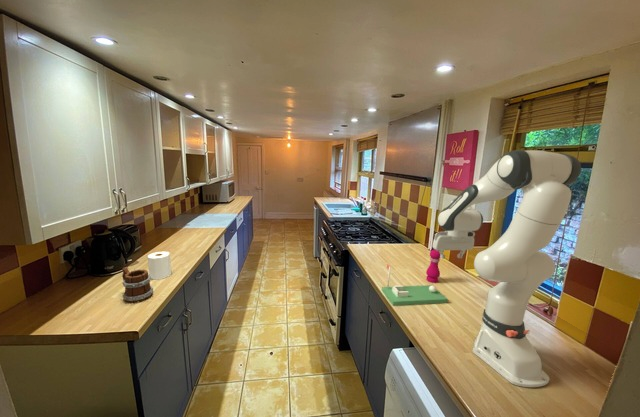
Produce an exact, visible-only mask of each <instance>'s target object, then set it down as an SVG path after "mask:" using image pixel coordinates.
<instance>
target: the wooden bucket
mask: <svg viewBox="0 0 640 417" xmlns="http://www.w3.org/2000/svg"><path fill="white" fill-rule="evenodd" d="M121 270H122V286H123V287H124V292H123V294H122V297H123V300H124V301H125V302H126V303H133V304H134V303H139V302H140V303H141V302H143V301H145V300H147V299H150V297H152V295H153V293H154V287H152V286H151V280H152V279H151V278H150V276H149V270H147V269H134V270H131V271H130V270H129V269H128V268H127V267H122V268H121Z"/></svg>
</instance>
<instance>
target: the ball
mask: <svg viewBox="0 0 640 417" xmlns="http://www.w3.org/2000/svg"><path fill="white" fill-rule="evenodd" d="M436 289H437V288H436V286H435V285H432V286H430V287H429V291H430V292H435V291H436Z"/></svg>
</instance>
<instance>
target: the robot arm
mask: <svg viewBox="0 0 640 417" xmlns="http://www.w3.org/2000/svg"><path fill="white" fill-rule="evenodd" d="M581 170H582V165H581V162H580V160H579V159H578V158H577V157H575V156H573V155H571V154H567V153H561V152H560V153H557V152H551V151H545V150H537V149H535V150H534V149H533V150H524V149H515V150H510V151H507V152H505V153H504V154H502V156H501V157H500V158H499V159H498V160H497V161H496V162H495V163H494V164H493V165H492V166H491V167H490V169H489V170H488V171H487V172H486V174H484V175H483V176H482V177H480V179H478V180H477V181H476V182H474V183H473V184H471V185H469V186H467V187H466V188H464V190H463V191H462V192H461V193H459V195H458V196H456V197H455V198H454V199H452V200H451V201H450V203H449V205H447V207H445V208H443V209H441V211H440V212H439V213H438V215H437V224H438V225H439V227H440V228H441V229H442V230H443V231H437V232H436V233H435V234H434V238H433V241H432V249H433V250H437V251H439V253H440V258H439V259H446V255H445V254H444V252H445V251H460V252H459V253H457V255H456V257H457V258H458V259H462V258H463V255H464V254H465V253H466V252H467V251H472V250H473V249H474V246H475V235H476V233H475V231H479V230H480V229H481V228H482V226H483V224H484V216H483V214H482V213H481V211H479V210H476V209H475V208H474V207H472V206H474V205H476V204H481V203H487V202H488V203H489V202H493V201H494V202H497V201H501V200H503V199H505V198H507V197H509V196H510V195H511V194H513V193H514V192H515V191H516V190H517V191H518V190H520V189H521V190H522V192H523V193H522V194H523V196H522V199H521V202H520V203H519V205H518V207H517V209H516V211H515V214H514V216H513V218H512V220H511V221H510V224H509V226H508V228H507V229H506V230H505V232H504V233H503V234H502V235H501V236H500V237H499V238H498V239H497V240H496V241H495V242H494V243H493V244H492V245H490V246H488V247H487V248H485V249H484V250H482V251H479V252H478V253H477V254H476V255H475V258H474V260H473V267H474V270H475V272H476V274H477V275H478V276H479V277H480V278H481V279H482V280H484V281H490V282H495V283H497V284H496V285H495V286H493V287H491V289H489V291H488V294H487V299H486V303H485V308H484V309H483V313H482V320H481V321H482V323H481V326H480V328H479V332H478V333H477V337H476V338H475V339H474V340H473V344H474V345H473V348H472V353H473V354H474V355H476V356H477V357H478V358H479V359H480V360H482V361H483V362H484V363H486V364H487V365H488V366H489V367H491V368H492V369H493V370H494V371H496V372H497V373H498V374H499V375H501V376H502V377H503V378H504V379H506V381H508V382H510V384H512V385H515V386H517V387H523V388H539V387H544V386H546V385H548V384H549V383H550V376H549V375H548V374H547V373H546V372H545V371H544V370H543V369H542V366H543V364H542V359H541V357H540V355H539V354H538V352H537V349H536V348H535V347H534V346H533V345H532V343H531V342H530V340H529V338H528V337H527V334H530V332H531V331H530V330H529V329H528V330H526V326H525V322H524V320H525V319H524V318H525V313H526V310H527V307H528V303H529V301H530V300H531V298H532V296H533V294H534V293H535V292H536V290H538V288H539V287H540V286H541V285H542V284H543V283H544V282H546V281H547V280H548V279H551V278H552V276H553V275H554V274H555V272H556V264H555V262H554V260H553V258H552V257H551V256H550V255H549V254H548V253H546V252H545V251H544V252H543V251H541V250H543V249H544V248H546V247H548V246H549V245H550V244H551V241H552V240H553V238H554V237H555V234H556V233H557V231H558V229H559V227H560V225H561V224H562V222H563V220H564V218H565V216H566V213H567V211H568V209H569V206H570V203H571V198H572V191H571V189H570V188H569V187H568V186H571V185H572V184H574V183H575V181H577V179H578V178H579V177H580V175H581Z"/></svg>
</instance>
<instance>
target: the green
mask: <svg viewBox="0 0 640 417" xmlns="http://www.w3.org/2000/svg"><path fill="white" fill-rule="evenodd" d="M386 268H387V270H388V277H387V286H381V292H382V293H383V295H384V296H385V297H386V299H387V300H388V301H389V302H390V304H391V305H392V306H411V305H412V306H413V305H414V306H415V305H429V304H447V303H448V301H449V300H448V298H447V296H445V295H444V294H442V293H441V292H440V290H438V289H437V288H436V291H435V292H430V291H429V287H430V286H433V285H432V284H431V285H429V284H428V285H424V284H423V285H409V286H408V285H406V286H405V285H392V286H390V275H391V266H390V265H389V264H388V263H387V264H386Z"/></svg>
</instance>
